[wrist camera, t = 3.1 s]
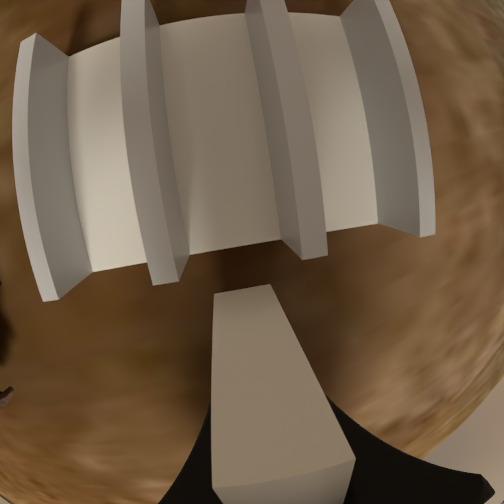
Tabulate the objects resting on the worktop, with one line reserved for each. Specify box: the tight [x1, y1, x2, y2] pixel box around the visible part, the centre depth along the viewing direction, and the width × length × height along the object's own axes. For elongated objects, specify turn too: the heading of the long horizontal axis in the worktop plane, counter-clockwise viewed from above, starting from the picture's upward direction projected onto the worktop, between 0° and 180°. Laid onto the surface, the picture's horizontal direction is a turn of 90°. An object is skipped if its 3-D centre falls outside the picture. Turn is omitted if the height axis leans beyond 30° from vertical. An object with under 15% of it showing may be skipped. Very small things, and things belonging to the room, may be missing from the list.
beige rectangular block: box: [211, 284, 356, 504], centre depth 8 cm, size 7×2×8 cm, turn 8°
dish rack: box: [12, 0, 435, 302], centre depth 9 cm, size 10×15×4 cm, turn 98°
